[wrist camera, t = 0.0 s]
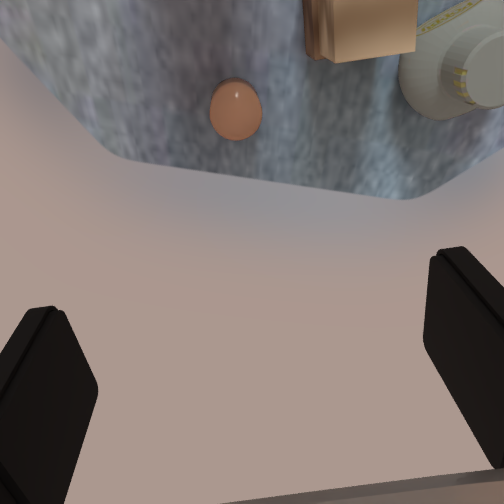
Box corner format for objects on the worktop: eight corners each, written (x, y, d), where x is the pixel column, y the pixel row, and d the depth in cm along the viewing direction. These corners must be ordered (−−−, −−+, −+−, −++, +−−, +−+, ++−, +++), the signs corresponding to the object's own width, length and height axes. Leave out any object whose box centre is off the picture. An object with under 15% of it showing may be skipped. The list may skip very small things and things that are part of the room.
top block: (316, -28, 34) (332, -32, 29) (391, -40, 34) (420, -46, 29) (319, 54, 37) (335, 63, 32) (388, 43, 37) (415, 51, 32)
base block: (300, -32, 38) (309, -36, 34) (378, -45, 38) (398, -50, 34) (305, 53, 42) (315, 60, 38) (377, 42, 42) (395, 47, 38)
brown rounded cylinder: (207, 81, 43) (205, 91, 38) (255, 74, 43) (258, 82, 38) (215, 129, 45) (214, 143, 41) (261, 122, 45) (265, 136, 41)
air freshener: (489, -18, 40) (562, -22, 31) (507, 67, 44) (577, 84, 35) (378, 46, 42) (417, 59, 33) (405, 121, 46) (446, 150, 37)
